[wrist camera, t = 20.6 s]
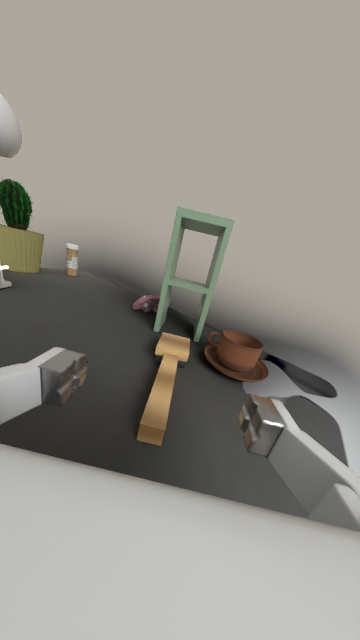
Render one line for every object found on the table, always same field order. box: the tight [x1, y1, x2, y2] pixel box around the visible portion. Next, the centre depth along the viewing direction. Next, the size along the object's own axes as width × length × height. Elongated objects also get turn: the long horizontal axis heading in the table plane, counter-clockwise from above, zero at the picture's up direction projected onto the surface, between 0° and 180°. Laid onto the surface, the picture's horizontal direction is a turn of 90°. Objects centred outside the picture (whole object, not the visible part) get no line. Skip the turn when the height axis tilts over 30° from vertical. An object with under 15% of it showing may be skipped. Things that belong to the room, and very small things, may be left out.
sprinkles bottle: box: [66, 243, 79, 276], centre depth 74 cm, size 5×5×14 cm
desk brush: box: [137, 332, 190, 446], centre depth 24 cm, size 19×6×3 cm, turn 175°
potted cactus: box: [0, 179, 44, 273], centre depth 60 cm, size 15×15×30 cm
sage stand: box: [154, 207, 234, 342], centre depth 40 cm, size 10×11×26 cm
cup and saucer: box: [204, 330, 268, 382], centre depth 31 cm, size 12×12×6 cm
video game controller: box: [133, 295, 160, 313], centre depth 51 cm, size 10×5×7 cm, turn 129°
